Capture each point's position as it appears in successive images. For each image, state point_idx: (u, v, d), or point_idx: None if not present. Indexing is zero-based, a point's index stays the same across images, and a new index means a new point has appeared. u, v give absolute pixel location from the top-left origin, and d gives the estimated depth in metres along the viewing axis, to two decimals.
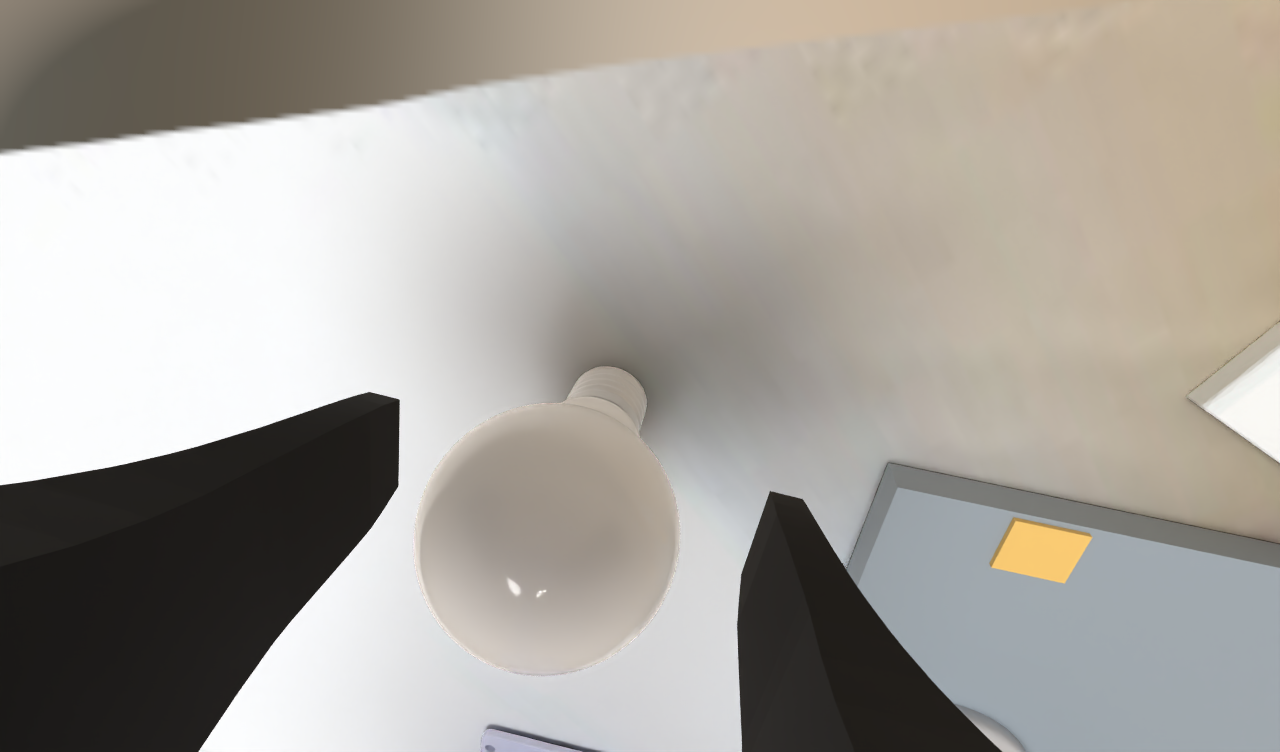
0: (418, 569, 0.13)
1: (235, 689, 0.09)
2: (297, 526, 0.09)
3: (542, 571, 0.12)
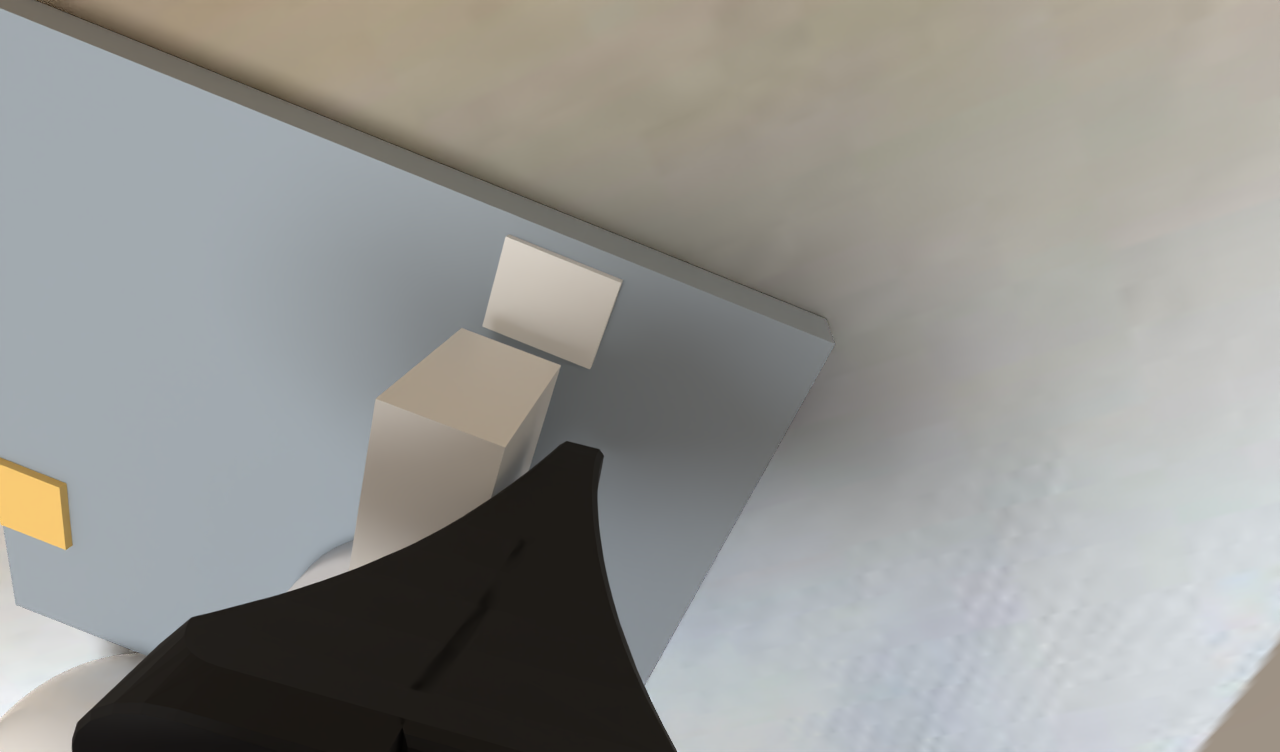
0: None
1: None
2: None
3: (71, 751, 0.17)
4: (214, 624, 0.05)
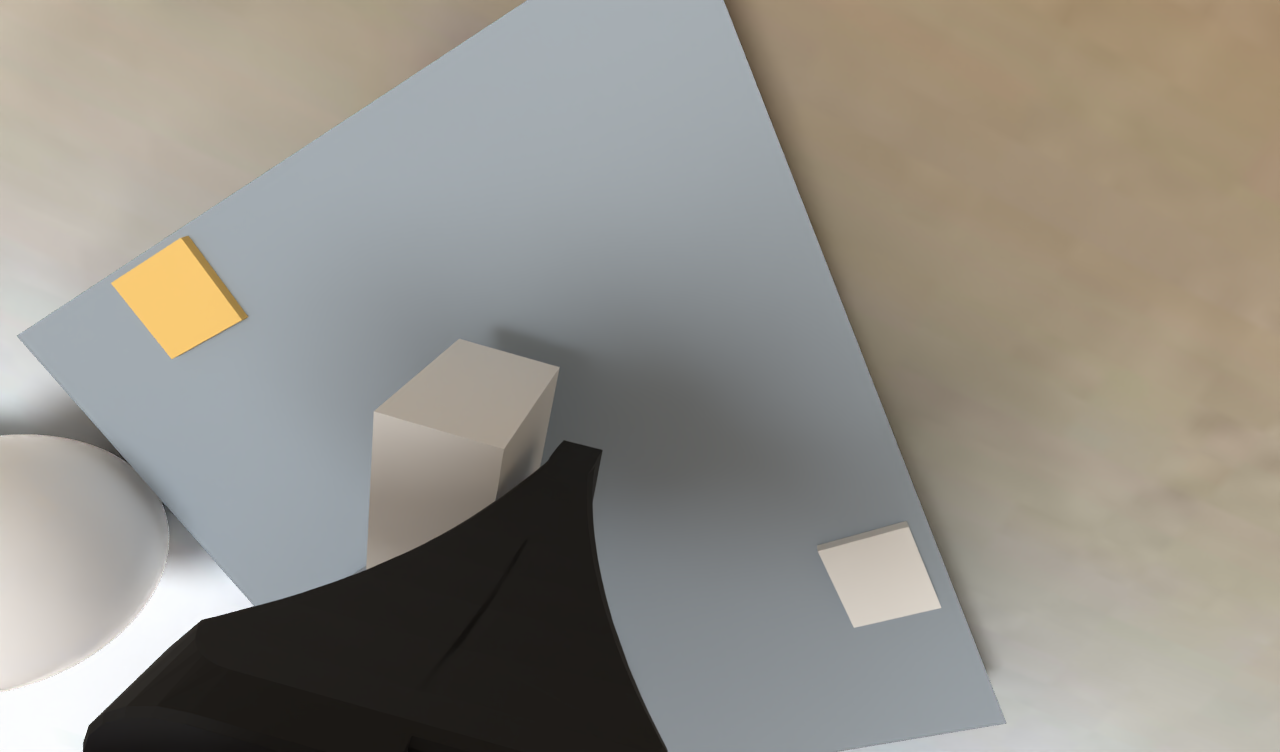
0: None
1: None
2: None
3: (41, 570, 0.14)
4: (225, 627, 0.05)
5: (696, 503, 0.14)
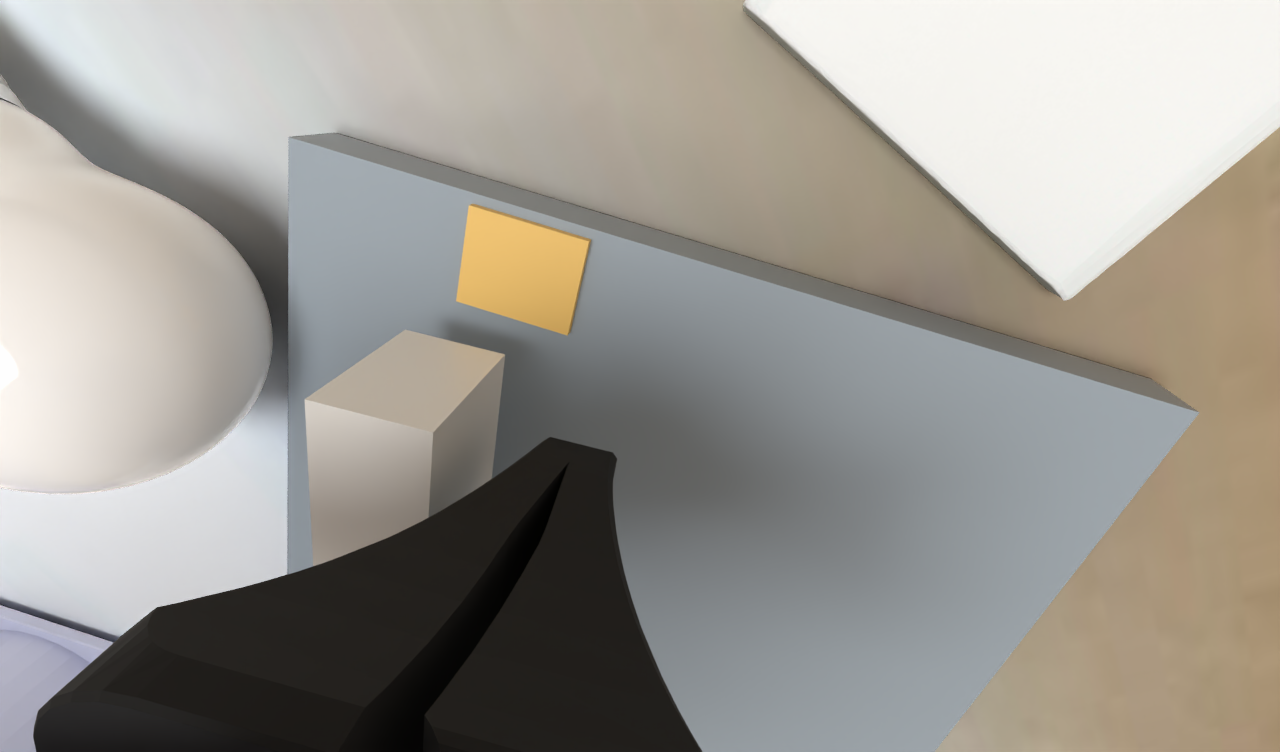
0: None
1: None
2: None
3: (176, 417, 0.11)
4: (179, 614, 0.05)
5: (773, 691, 0.16)
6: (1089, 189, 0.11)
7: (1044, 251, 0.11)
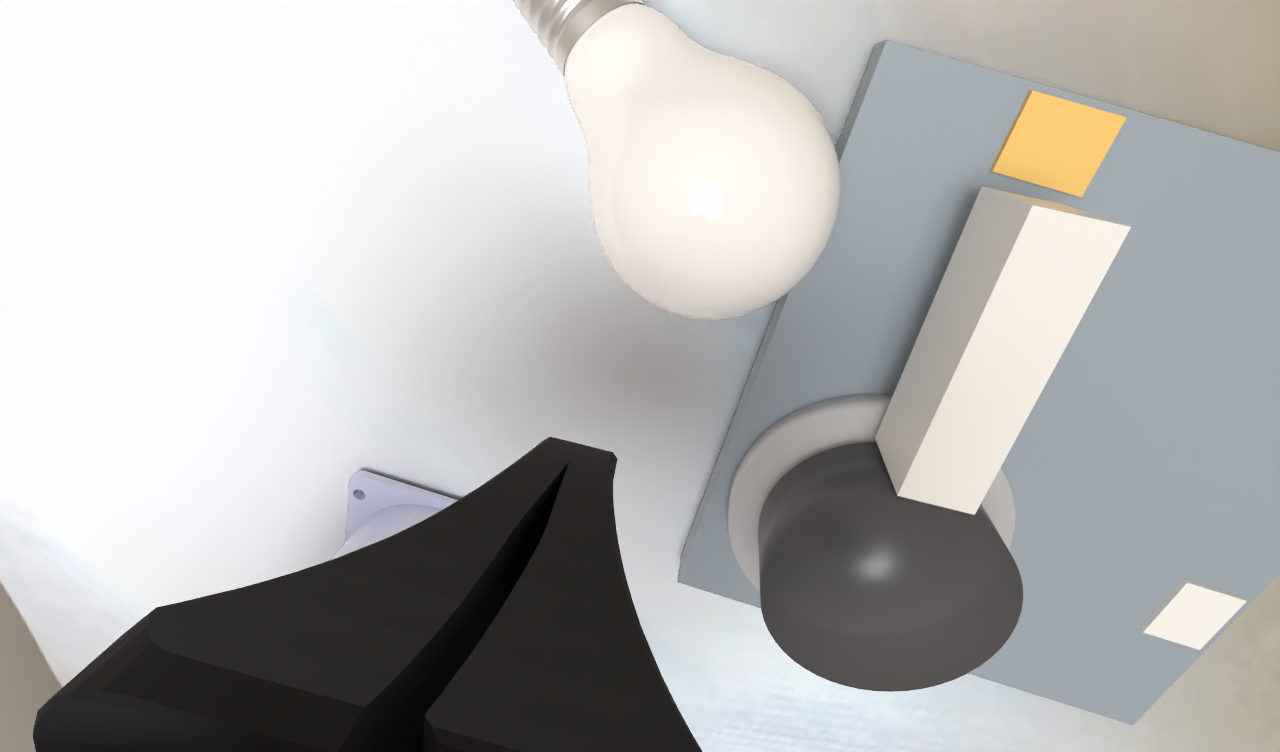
0: (699, 303, 0.15)
1: None
2: None
3: (820, 251, 0.15)
4: (178, 615, 0.05)
5: (1159, 513, 0.20)
6: None
7: None
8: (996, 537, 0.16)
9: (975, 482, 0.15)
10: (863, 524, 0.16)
